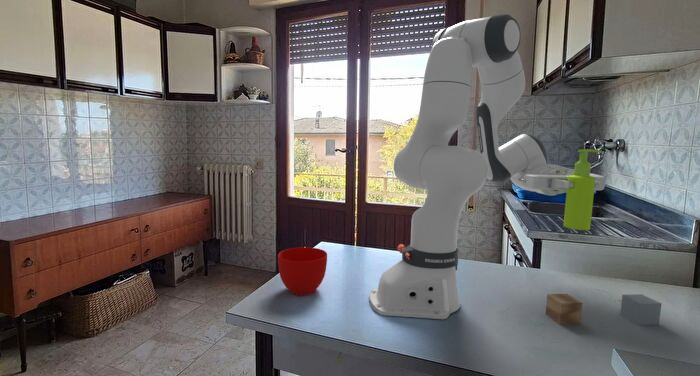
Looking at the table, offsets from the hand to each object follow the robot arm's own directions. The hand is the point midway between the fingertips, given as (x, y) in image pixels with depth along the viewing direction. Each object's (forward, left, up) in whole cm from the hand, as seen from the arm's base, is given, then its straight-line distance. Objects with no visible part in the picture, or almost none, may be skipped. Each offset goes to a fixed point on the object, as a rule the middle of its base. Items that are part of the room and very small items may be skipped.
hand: (584, 185), depth 91 cm
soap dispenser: (0, +1, -11) cm, 11 cm away
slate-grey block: (+8, -11, -30) cm, 33 cm away
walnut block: (-10, -10, -30) cm, 33 cm away
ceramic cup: (-70, +10, -30) cm, 77 cm away
